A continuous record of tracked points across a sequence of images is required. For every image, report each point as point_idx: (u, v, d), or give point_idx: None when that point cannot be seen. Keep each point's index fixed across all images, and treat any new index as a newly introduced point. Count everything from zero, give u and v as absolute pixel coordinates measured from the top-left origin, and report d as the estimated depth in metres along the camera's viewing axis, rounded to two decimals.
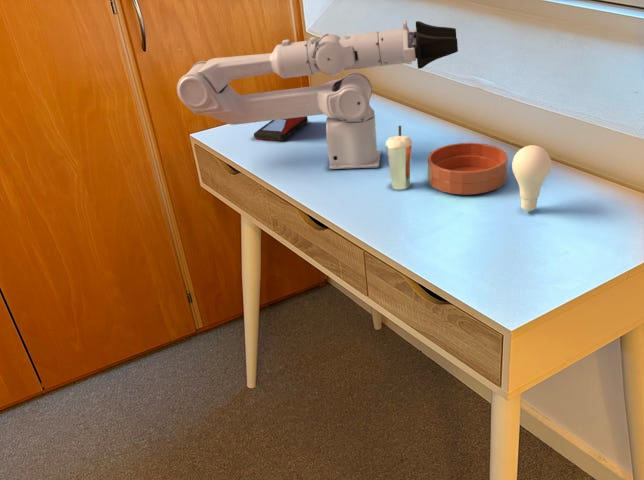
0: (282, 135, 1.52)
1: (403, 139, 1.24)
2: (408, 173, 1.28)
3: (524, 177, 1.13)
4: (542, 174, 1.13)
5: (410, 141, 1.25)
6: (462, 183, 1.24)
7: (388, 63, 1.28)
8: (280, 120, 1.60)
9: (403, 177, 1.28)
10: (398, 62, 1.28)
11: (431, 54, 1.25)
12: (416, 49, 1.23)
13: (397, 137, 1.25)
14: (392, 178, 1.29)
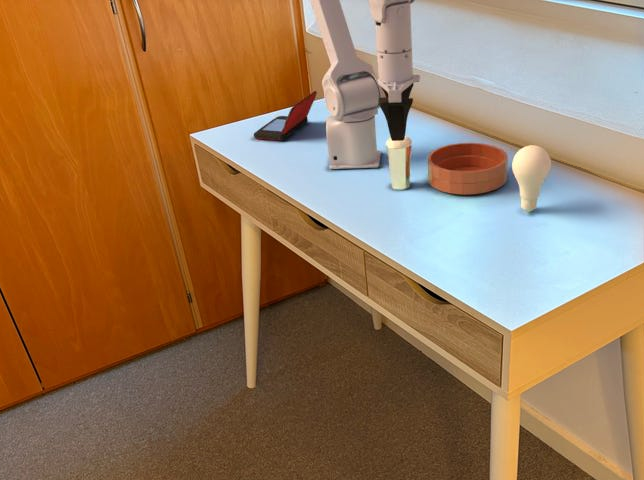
0: (282, 135, 1.52)
1: None
2: (408, 173, 1.28)
3: (524, 177, 1.13)
4: (542, 174, 1.13)
5: (410, 141, 1.25)
6: (462, 183, 1.24)
7: (381, 60, 1.16)
8: (280, 120, 1.60)
9: (403, 177, 1.28)
10: (381, 72, 1.17)
11: (390, 113, 1.19)
12: (398, 101, 1.16)
13: None
14: (392, 178, 1.29)
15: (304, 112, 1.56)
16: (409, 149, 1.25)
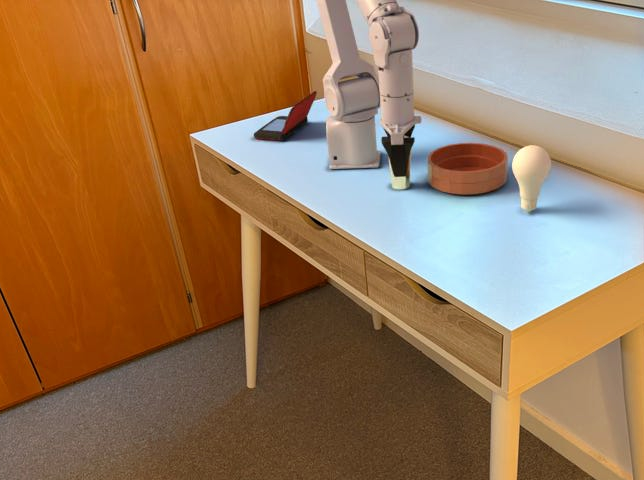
0: (282, 135, 1.52)
1: None
2: (408, 173, 1.28)
3: (524, 177, 1.13)
4: (542, 174, 1.13)
5: None
6: (462, 183, 1.24)
7: (383, 103, 1.20)
8: (280, 120, 1.60)
9: (403, 177, 1.28)
10: (383, 114, 1.21)
11: (393, 151, 1.24)
12: None
13: None
14: (392, 178, 1.29)
15: (304, 112, 1.56)
16: None
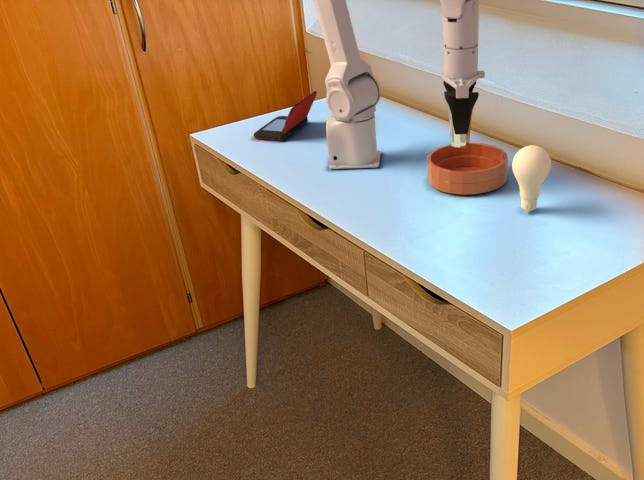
0: (282, 135, 1.52)
1: None
2: (469, 131, 1.24)
3: (524, 177, 1.13)
4: (542, 174, 1.13)
5: None
6: (462, 183, 1.24)
7: (447, 56, 1.16)
8: (280, 120, 1.60)
9: (464, 135, 1.24)
10: (447, 67, 1.18)
11: (455, 107, 1.20)
12: None
13: None
14: (452, 136, 1.25)
15: (304, 112, 1.56)
16: None
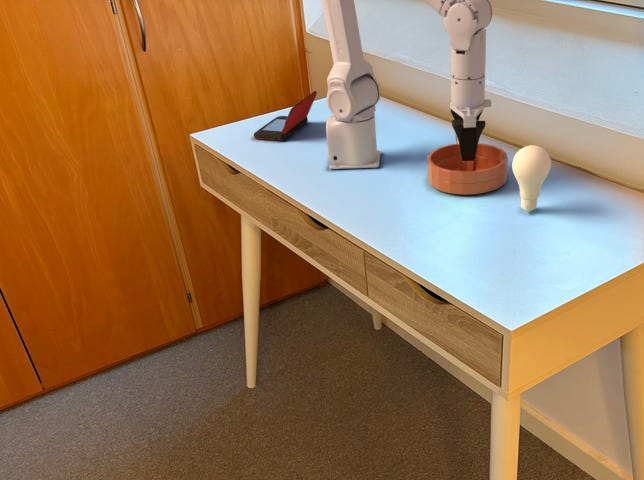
0: (282, 135, 1.52)
1: None
2: (475, 157, 1.27)
3: (524, 177, 1.13)
4: (542, 174, 1.13)
5: None
6: (462, 183, 1.24)
7: (455, 86, 1.19)
8: (280, 120, 1.60)
9: (471, 161, 1.27)
10: (454, 97, 1.20)
11: (462, 135, 1.23)
12: None
13: None
14: (459, 162, 1.28)
15: (304, 112, 1.56)
16: None
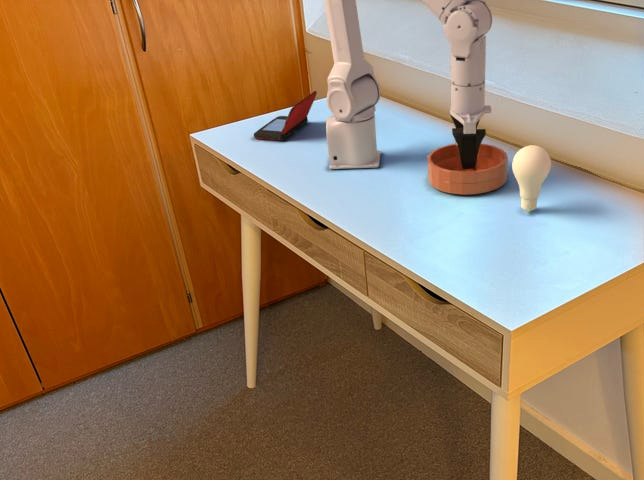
0: (282, 135, 1.52)
1: None
2: (475, 166, 1.28)
3: (524, 177, 1.13)
4: (542, 174, 1.13)
5: None
6: (462, 183, 1.24)
7: (455, 92, 1.20)
8: (280, 120, 1.60)
9: (470, 169, 1.28)
10: (454, 103, 1.21)
11: (463, 143, 1.22)
12: None
13: None
14: None
15: (304, 112, 1.56)
16: None
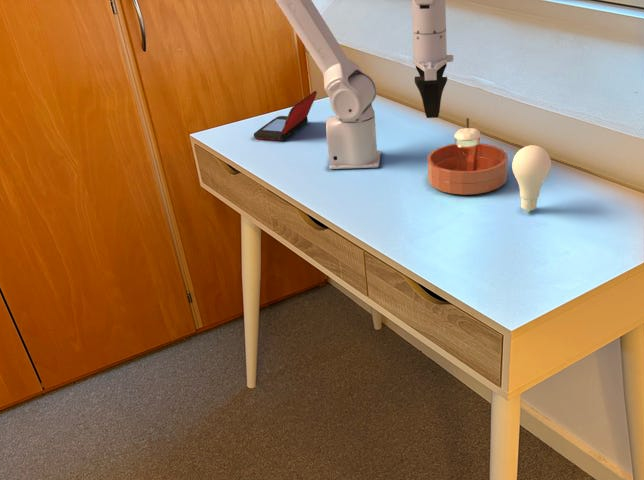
0: (282, 135, 1.52)
1: (472, 131, 1.24)
2: (475, 166, 1.28)
3: (524, 177, 1.13)
4: (542, 174, 1.13)
5: (479, 133, 1.25)
6: (462, 183, 1.24)
7: (416, 41, 1.23)
8: (280, 120, 1.60)
9: (470, 169, 1.28)
10: (416, 52, 1.24)
11: (426, 91, 1.25)
12: (434, 79, 1.22)
13: (466, 129, 1.25)
14: None
15: (304, 112, 1.56)
16: (478, 141, 1.25)
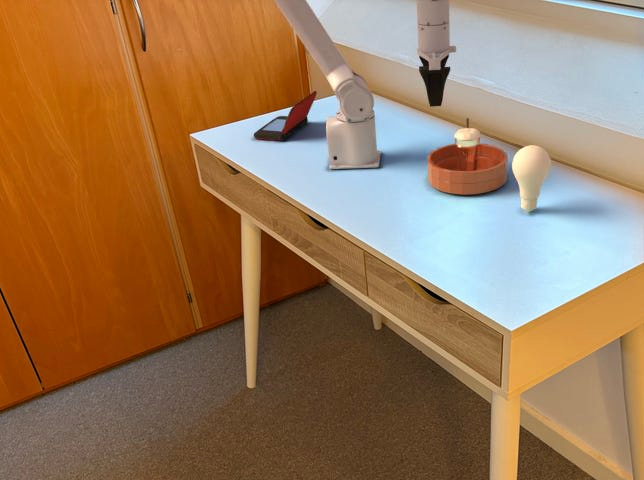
0: (282, 135, 1.52)
1: (472, 131, 1.24)
2: (475, 166, 1.28)
3: (524, 177, 1.13)
4: (542, 174, 1.13)
5: (479, 133, 1.25)
6: (462, 183, 1.24)
7: (421, 32, 1.28)
8: (280, 120, 1.60)
9: (470, 169, 1.28)
10: (421, 43, 1.29)
11: (429, 81, 1.30)
12: (438, 69, 1.28)
13: (466, 129, 1.25)
14: None
15: (304, 112, 1.56)
16: (478, 141, 1.25)
